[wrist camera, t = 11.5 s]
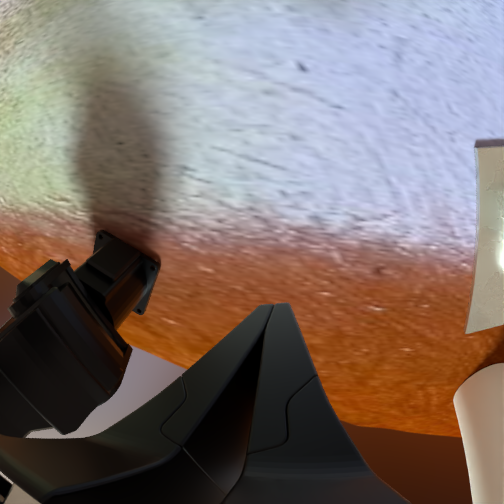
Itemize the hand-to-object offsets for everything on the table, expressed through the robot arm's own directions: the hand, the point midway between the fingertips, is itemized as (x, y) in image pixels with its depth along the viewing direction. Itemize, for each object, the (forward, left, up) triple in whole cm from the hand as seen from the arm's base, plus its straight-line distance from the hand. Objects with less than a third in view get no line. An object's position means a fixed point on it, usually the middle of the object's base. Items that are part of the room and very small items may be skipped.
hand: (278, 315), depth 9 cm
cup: (-7, -30, -13) cm, 34 cm away
